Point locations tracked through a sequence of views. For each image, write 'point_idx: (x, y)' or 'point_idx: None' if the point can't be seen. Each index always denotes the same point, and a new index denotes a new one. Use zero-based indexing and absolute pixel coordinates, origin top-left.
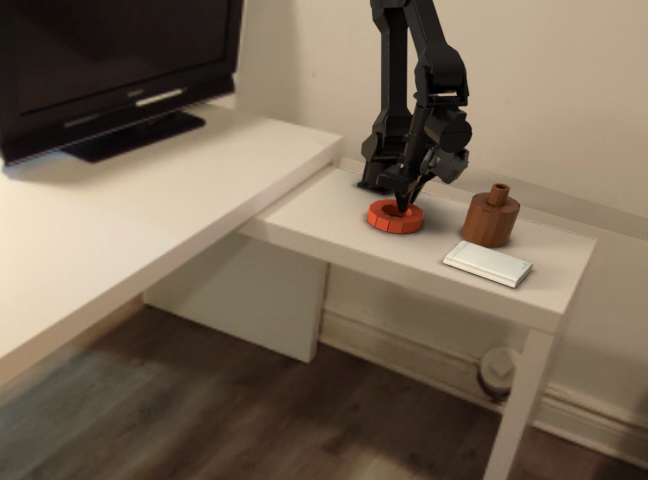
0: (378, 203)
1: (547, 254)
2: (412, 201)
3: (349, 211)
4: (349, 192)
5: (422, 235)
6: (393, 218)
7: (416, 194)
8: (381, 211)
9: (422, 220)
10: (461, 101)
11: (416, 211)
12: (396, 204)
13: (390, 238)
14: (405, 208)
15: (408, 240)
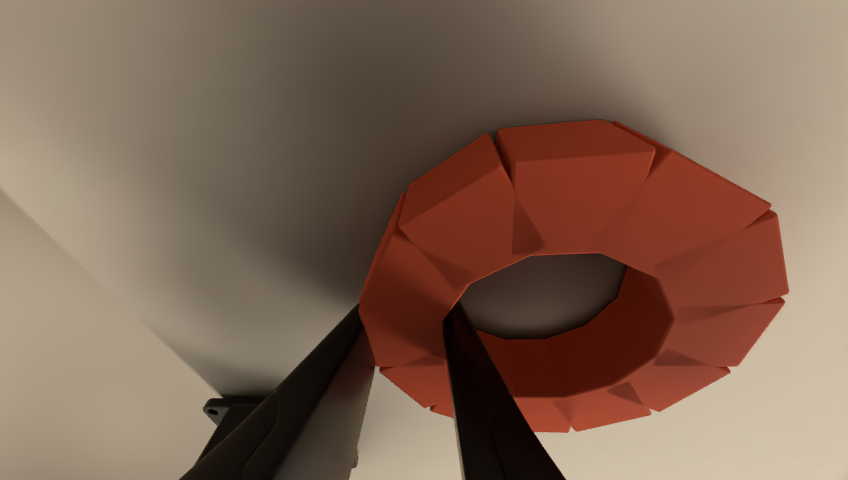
0: (528, 418)
1: None
2: (360, 339)
3: None
4: (416, 453)
5: (613, 32)
6: (712, 303)
7: (330, 388)
8: (629, 381)
9: (492, 150)
10: None
11: (452, 254)
12: None
13: (809, 182)
14: (468, 320)
15: (792, 63)
